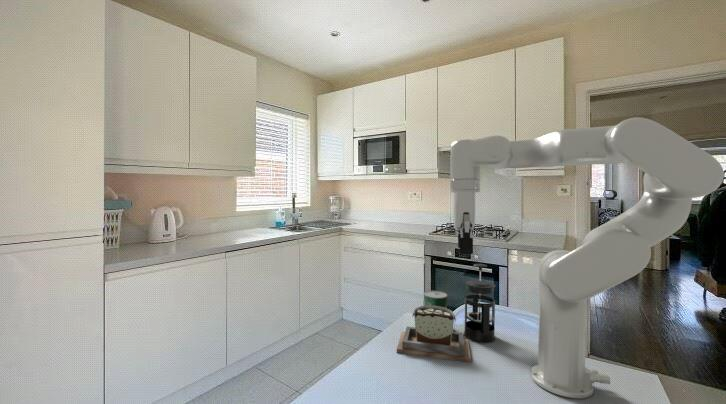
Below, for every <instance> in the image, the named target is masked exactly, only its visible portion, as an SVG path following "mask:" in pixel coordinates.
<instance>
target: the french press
mask: <svg viewBox="0 0 726 404" xmlns="http://www.w3.org/2000/svg"><path fill="white" fill-rule="evenodd" d="M473 266H474V267H477V268H478V272H479V279H469V280H466V281H465V285H466V290H467V291H468V292H469V293H473V294H468V295H465V297H464V331H463V337H465V339H468V341H469V340H470V341H472V342H475V343H481V344H490V343H493V342H495V340H496V336H495V332H496V331H495V316H496V315H495V311H496V299H495V298H493V297H490V296H487V295H490V294H494V291H495V290H494V289H495V288H496V284H495V283H493V282H491V281H487V280H482V271H483V268H487V267H488V265H487V264H483V263H474V264H473ZM471 299H472V300H471ZM481 300H485V301H488V302H490V303H487V302H486V303H484V302H483V303H482V302H481ZM468 306H471V307H472V311H468ZM490 309H491V310H490ZM490 313H491V314H490Z"/></svg>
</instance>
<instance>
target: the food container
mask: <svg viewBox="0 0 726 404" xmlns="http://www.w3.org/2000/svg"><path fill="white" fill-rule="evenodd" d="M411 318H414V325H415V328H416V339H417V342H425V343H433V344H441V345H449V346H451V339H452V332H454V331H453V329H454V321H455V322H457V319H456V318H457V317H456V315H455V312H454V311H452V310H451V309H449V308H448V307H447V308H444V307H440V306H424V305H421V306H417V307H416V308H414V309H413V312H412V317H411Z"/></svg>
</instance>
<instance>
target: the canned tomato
mask: <svg viewBox="0 0 726 404" xmlns="http://www.w3.org/2000/svg"><path fill="white" fill-rule="evenodd" d="M423 306H440V307H444V308H447V309H448V294H447V293H446V292H444V291H439V290H427V291H424V292H423Z"/></svg>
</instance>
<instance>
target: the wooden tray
mask: <svg viewBox="0 0 726 404" xmlns="http://www.w3.org/2000/svg"><path fill="white" fill-rule="evenodd" d="M398 352H399V353H400V354H405V353H407V354H408V355H414V356H415V355H416V356H422V357H428V358H429V357H430V358H436V359H442V360H449V361H450V360H451V361H459V362H466V363H467V362H468V363H472V356H471V351H470V345H469V339H467V338H464V332H459V331H452V339H451V346H449V345H441V344H433V343H425V342H417V339H416V328H415V327H414V326H406V328H405V331H401V333H400V337H399V340H398V343H397V345H396V353H398ZM407 354H406V355H407Z"/></svg>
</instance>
